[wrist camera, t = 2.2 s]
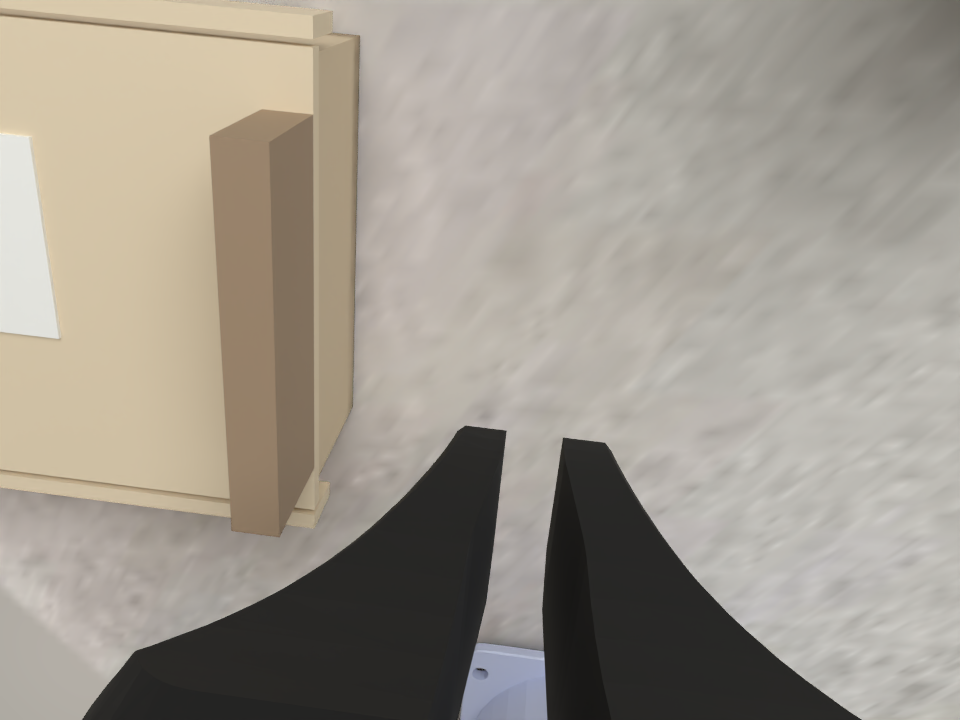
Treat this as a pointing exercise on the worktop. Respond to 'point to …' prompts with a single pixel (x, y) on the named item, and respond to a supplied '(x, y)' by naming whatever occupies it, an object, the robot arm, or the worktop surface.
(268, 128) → the lid
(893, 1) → the worktop surface
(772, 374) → the worktop surface
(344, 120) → the mailer box
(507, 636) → the worktop surface
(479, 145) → the worktop surface
